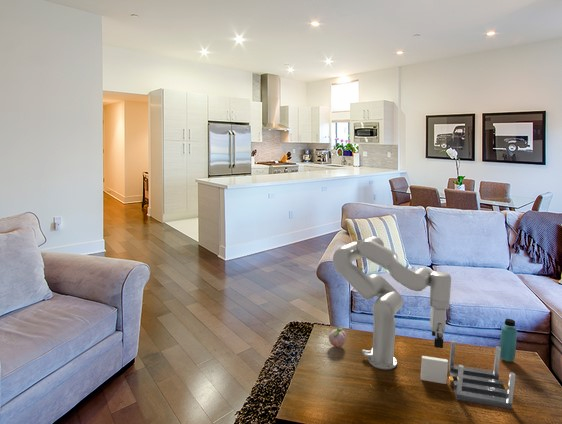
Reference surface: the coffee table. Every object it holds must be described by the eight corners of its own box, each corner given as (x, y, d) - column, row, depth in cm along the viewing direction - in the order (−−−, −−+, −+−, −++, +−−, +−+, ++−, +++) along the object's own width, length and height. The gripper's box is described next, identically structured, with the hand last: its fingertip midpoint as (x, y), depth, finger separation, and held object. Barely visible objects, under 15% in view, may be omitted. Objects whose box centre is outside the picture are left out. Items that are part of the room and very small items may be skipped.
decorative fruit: (331, 341, 189) (331, 322, 187) (347, 344, 186) (347, 325, 184) (326, 350, 180) (326, 330, 179) (342, 353, 177) (343, 334, 176)
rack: (453, 398, 145) (456, 366, 143) (445, 369, 165) (448, 339, 163) (515, 409, 139) (519, 375, 137) (499, 377, 159) (503, 347, 157)
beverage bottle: (516, 365, 168) (521, 324, 165) (500, 363, 169) (505, 322, 166) (511, 357, 174) (515, 317, 171) (495, 355, 176) (499, 316, 172)
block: (420, 379, 157) (422, 358, 156) (420, 377, 159) (422, 355, 157) (446, 384, 154) (448, 362, 153) (445, 381, 156) (447, 359, 155)
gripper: (427, 293, 160) (425, 330, 163) (431, 310, 144) (429, 350, 146) (446, 295, 158) (444, 333, 161) (452, 312, 142) (450, 353, 144)
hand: (437, 341), depth 154 cm, fingers open, 9 cm apart
